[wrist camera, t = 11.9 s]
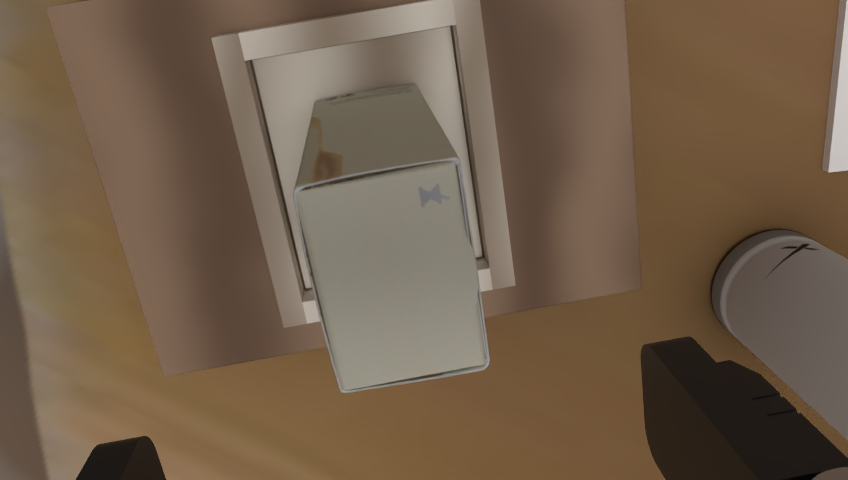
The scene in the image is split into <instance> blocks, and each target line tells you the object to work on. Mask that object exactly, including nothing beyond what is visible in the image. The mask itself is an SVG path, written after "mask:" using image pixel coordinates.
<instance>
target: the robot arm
mask: <svg viewBox="0 0 848 480" xmlns="http://www.w3.org/2000/svg"><path fill="white" fill-rule="evenodd" d="M641 370H642V386H643V402H644V417H645V429H646V435H647V440H648V444H649V447H650V450H651V453H652V456H653V458H654V460H655V463H656V464H657V466H658V468H659V469H660V471H661V473H662V474H663V476H664V477H665V479H666V480H848V458H847V457H846V456H845V455H844V454H843V453H842V452H840V451H839V450H838V449H837V448H836V447H835V446H834V445H833V444H832V443H831V442H830V441H829V440H828V439H827V438H826V437H825V436H824V435H823V434H822V433H821V432H820V431H819V430H818V429H816V428H815V427H814V426H813V425H812V424H811V423H810V422H809V421H808V420H807V419H806V418H805V417H804V416H803V415H802V414H801V413H799V414H798V413H797V411H796V408H795V407H794V406H793V405H791V404H790V403H789V402H788V401H787V400H786V399H785V398H784V397H781V396H780V393H779V392H778V391H777V390H776V389H775V388H774V387H773V386H772V385H771V384H770V383H769V382H767V381H766V380H765V379H764V378H763V377H762V376H761V375H760V374H758V373H756V372H754V371H752V370H750V369H748V368H746V367H744V366H741V365H739V364H737V363H735V362H733V361H731V360H728V361H723V362H718V363H716V362H715V361H714V360H713V359H712V358H711V357H710V356H709V354H708V353H707V352H706V351H705V350H704V349H703V348H702V347H701V346H700V345H699V344H698V343H697V342H696V341H695V340H694V339H693V338H691V337H683V338H677V339H672V340H666V341H661V342H656V343H650V344H645V345H643V347H642V350H641ZM76 480H166V478H165V475H164V472H163V469H162V466H161V463H160V460H159V457H158V454H157V451H156V449H155V446H154V444H153V442H152V441H151V439H150V438H149V437H147V436H142V437H136V438H131V439H125V440H120V441H115V442H109V443H104V444H99V445H97V446H96V447H95V448H94V449H93V450H92V452H91V454H90V456H89V457H88V459H87V461H86V463H85V464H84V466H83V468H82V470H81V471H80V473H79V475H78V477H77V478H76Z"/></svg>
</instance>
